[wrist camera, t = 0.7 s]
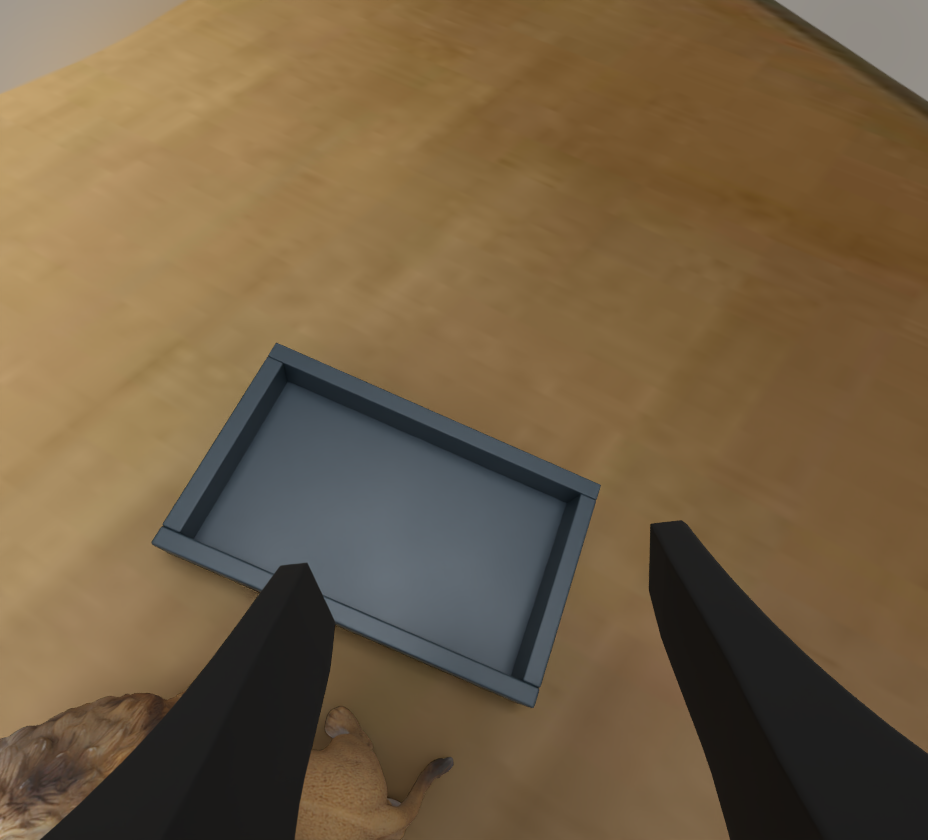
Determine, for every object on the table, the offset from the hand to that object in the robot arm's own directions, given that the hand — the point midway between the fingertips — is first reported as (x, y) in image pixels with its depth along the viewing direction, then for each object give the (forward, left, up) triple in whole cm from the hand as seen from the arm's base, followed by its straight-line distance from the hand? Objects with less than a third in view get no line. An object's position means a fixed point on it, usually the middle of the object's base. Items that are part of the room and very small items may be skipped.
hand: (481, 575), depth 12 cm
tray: (+3, +3, -15) cm, 15 cm away
